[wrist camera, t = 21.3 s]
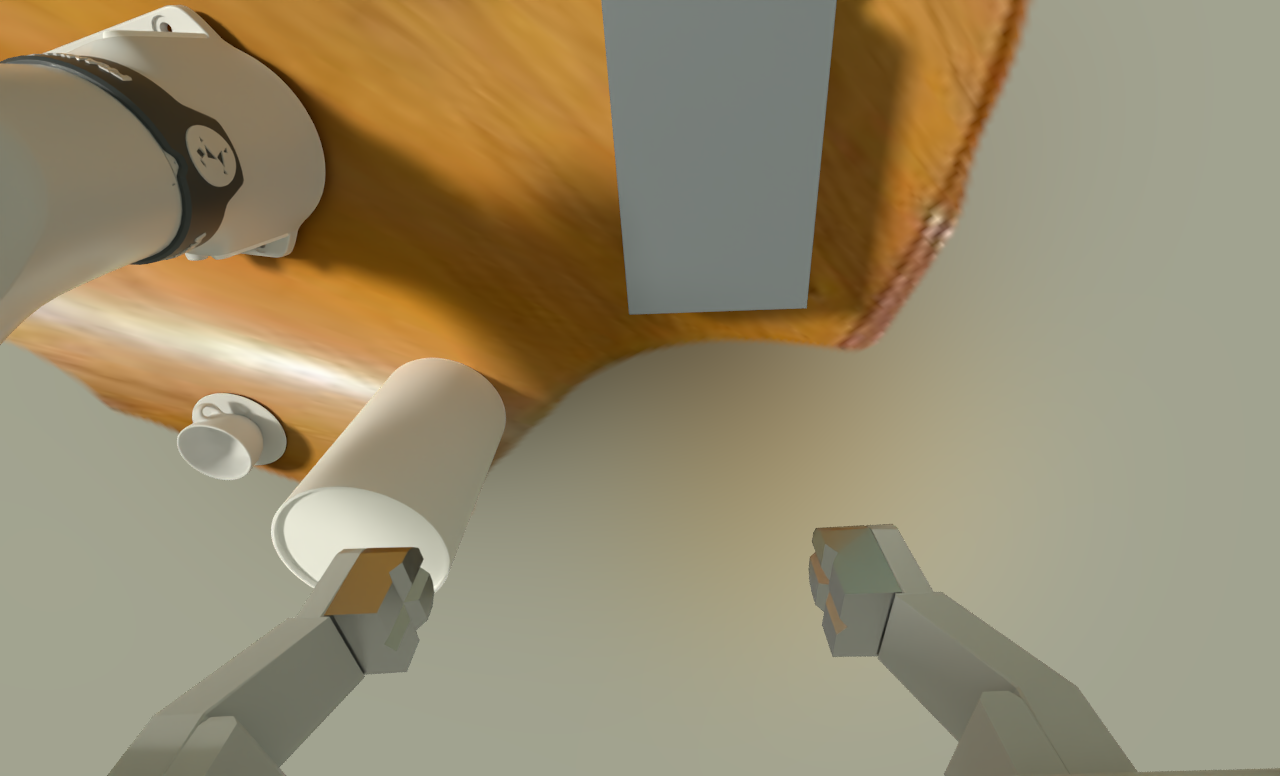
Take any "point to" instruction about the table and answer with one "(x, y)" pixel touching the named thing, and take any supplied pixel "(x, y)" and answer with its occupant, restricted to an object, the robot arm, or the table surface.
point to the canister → (398, 473)
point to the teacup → (230, 437)
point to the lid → (718, 148)
